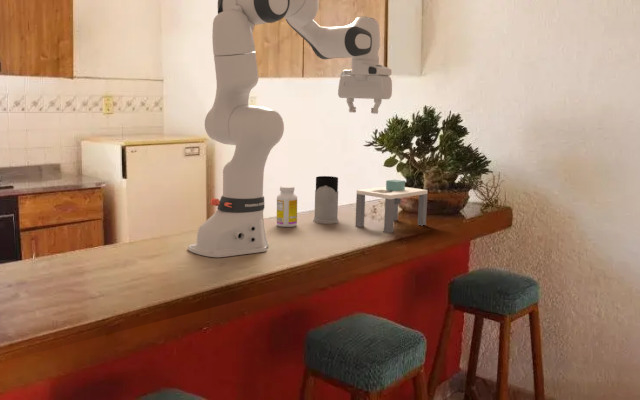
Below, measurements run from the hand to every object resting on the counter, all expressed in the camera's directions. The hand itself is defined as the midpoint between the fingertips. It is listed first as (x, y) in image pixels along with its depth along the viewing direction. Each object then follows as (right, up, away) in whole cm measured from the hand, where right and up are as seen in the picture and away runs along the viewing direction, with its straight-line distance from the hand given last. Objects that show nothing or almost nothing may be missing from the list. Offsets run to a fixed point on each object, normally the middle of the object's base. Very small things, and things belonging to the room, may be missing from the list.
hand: (363, 113), depth 215 cm
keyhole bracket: (+10, -37, +5) cm, 38 cm away
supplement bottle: (-25, -37, +1) cm, 45 cm away
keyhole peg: (+11, -29, +5) cm, 32 cm away
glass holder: (-12, -35, +13) cm, 40 cm away
